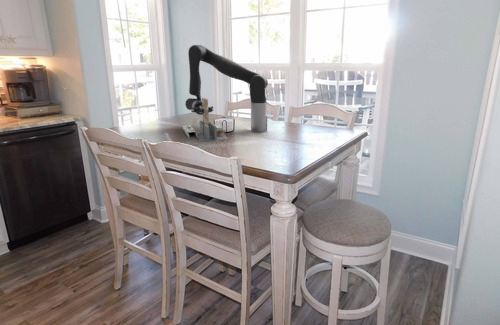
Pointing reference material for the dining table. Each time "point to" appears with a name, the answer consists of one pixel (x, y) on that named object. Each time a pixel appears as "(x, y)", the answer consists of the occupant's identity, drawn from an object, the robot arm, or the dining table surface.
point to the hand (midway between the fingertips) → (206, 111)
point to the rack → (209, 132)
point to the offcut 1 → (219, 127)
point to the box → (188, 129)
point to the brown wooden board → (205, 111)
